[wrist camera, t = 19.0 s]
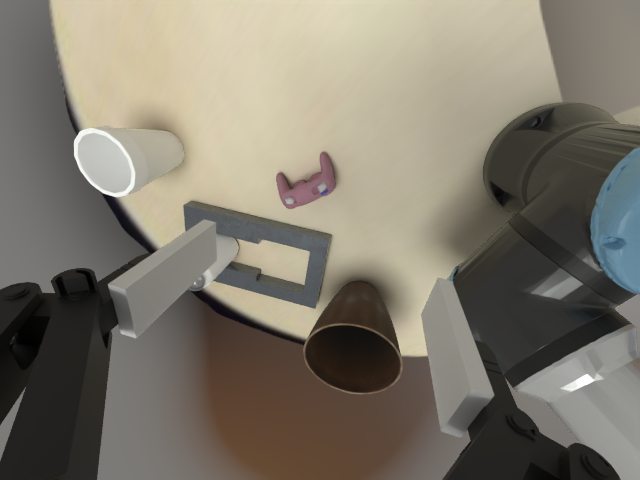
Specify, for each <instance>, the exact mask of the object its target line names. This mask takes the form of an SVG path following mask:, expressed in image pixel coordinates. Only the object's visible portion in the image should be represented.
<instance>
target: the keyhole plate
mask: <svg viewBox="0 0 640 480" xmlns="http://www.w3.org/2000/svg"><path fill="white" fill-rule="evenodd" d="M184 217H185V230H186V231H188V230H189V229H191V228H192V227H194V226H195V225H197V224H198V223H199V222H201V221H202V220H204V219H205V220H209V221H213V222H216V233H217V234H221V235H225V236H229V237H233V238H237V239H241V240H245V241H248V242H252V243H256V244H259V243H260V241H261V240H262V239H264V240H268V241H272V242H276V243H280V244H283V245H287V246H291V247H295V248H299V249H303V250H307V251H310V257H309V262H308V268H307V274H306V280H305V286H304V285H300V284H296V283H293V282H289V281H285V280H281V279H278V278H274V277H270V276H266V275H263V274H261V269H258V268H255V267H251V266H247V265H243V264H239V263H236V262H232V261H231V262H230V263H229V264H228V265H227V266H226V268H225V269H224V270H223V271H222V272H221V273H220V274H219V275H218V276H217V277H216V278H215V279H214V280H213V281H216V282H220V283H223V284H227V285H231V286H234V287H238V288H242V289H245V290H249V291H252V292H256V293H260V294H263V295H267V296H271V297H274V298H278V299H282V300H285V301H289V302H293V303H296V304H300V305H304V306H307V307H311V308H316V305H317V302H318V298H319V293H320V288H321V284H322V279H323V274H324V269H325V265H326V260H327V255H328V250H329V245H330V241H331V236H332V235H330V234H326V233H322V232H318V231H314V230H309V229H305V228H301V227H297V226H293V225H289V224H285V223H281V222H277V221H273V220H268V219H264V218H260V217H256V216H252V215H248V214H244V213H240V212H236V211H232V210H227V209H223V208H219V207H215V206H211V205H207V204H203V203H199V202H195V201H190V202H188V203H187V204H185V205H184Z"/></svg>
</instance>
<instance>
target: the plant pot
mask: <svg viewBox="0 0 640 480" xmlns="http://www.w3.org/2000/svg"><path fill="white" fill-rule="evenodd" d="M304 359H305V362H306V364H307V366H308V368H309V369H310V371H311V372H312V373H313V374H314V375H315V376H316V377H317V378H318V379H319V380H321V381H322V382H323V383H325V384H327V385H328V386H330V387H332V388H335V389H337V390H340V391H343V392H347V393H353V394H372V393H377V392H381V391H383V390H385V389H387V388H389V387H391V386H392V385H393V384H395V383H396V382H397V380H398V379H399V377H400V375H401V373H402V367H403V365H402V358H401V354H400V350H399V345H398V341H397V337H396V333H395V330H394V327H393V324H392V321H391V318H390V316H389V313H388V311H387V308H386V306H385V304H384V302H383V300H382V298H381V296H380V295H379V293H378V291H377V290H376V289H375V288H374V287H373V286H372V285H371V284H369V283H366V282H362V281H355V282H351V283H349V284H347V285H346V286H345V287H344V288H343V289H342V290H341V291H340V292H339V293H338V294H337V295H336V296H335V297H334V298H333V299H332V301H331V302H330V303H329V304H328V306H327V307H326V308H325V310H324V311H323V313H322V314H321V316H320V317H319V319H318V320H317V322H316V324H315V326H314V327H313V329H312V331H311V333H310V335H309V337H308V338H307V340H306V342H305V345H304Z"/></svg>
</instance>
